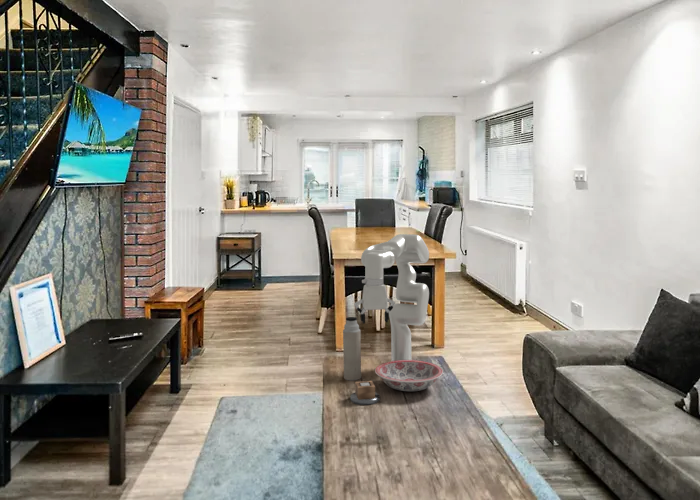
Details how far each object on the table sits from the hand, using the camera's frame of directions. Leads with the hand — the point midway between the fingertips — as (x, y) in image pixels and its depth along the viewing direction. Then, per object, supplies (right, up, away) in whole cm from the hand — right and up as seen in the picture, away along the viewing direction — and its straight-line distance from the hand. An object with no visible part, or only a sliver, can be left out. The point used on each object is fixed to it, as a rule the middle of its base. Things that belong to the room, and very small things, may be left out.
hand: (374, 322), depth 237 cm
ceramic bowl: (+15, -30, +7) cm, 34 cm away
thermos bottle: (-9, -28, +22) cm, 37 cm away
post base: (-4, -31, -5) cm, 32 cm away
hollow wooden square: (-4, -30, -6) cm, 30 cm away
